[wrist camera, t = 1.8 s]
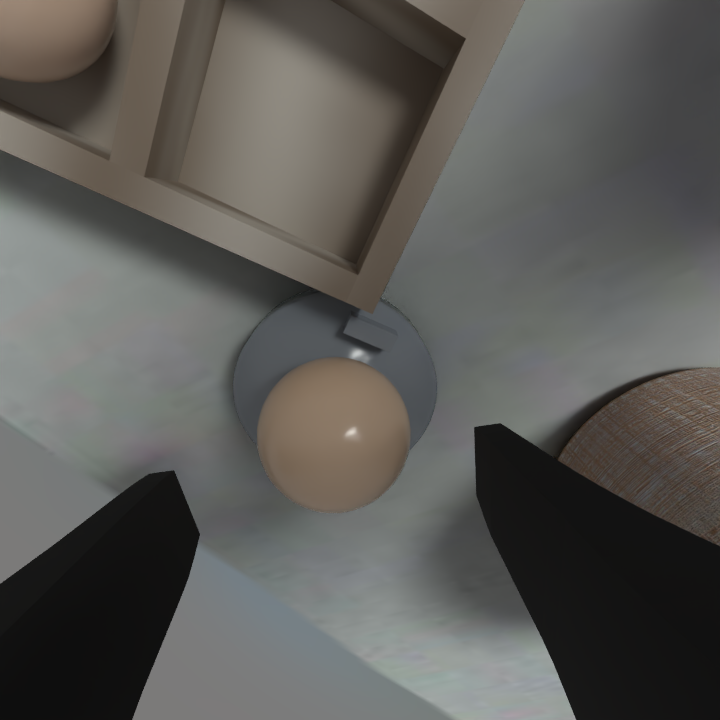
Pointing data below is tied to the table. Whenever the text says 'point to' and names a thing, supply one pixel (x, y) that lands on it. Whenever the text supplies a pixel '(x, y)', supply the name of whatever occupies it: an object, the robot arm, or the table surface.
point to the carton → (271, 123)
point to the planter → (659, 449)
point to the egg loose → (333, 435)
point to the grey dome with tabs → (334, 353)
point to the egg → (53, 37)
